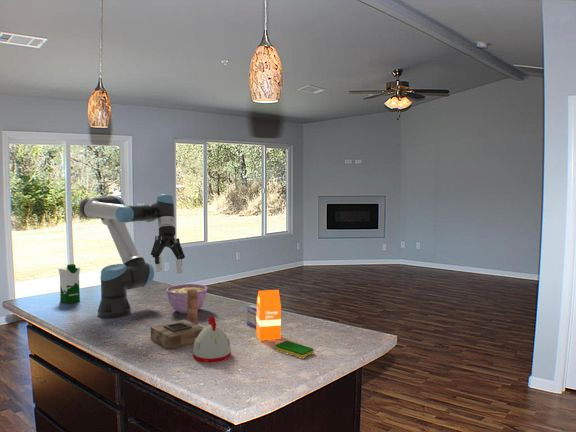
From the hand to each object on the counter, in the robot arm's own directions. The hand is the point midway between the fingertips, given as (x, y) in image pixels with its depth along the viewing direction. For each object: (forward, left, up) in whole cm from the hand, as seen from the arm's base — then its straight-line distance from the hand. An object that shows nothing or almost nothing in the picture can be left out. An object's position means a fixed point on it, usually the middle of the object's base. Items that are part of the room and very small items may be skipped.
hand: (169, 272), depth 215 cm
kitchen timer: (+47, -8, -23) cm, 53 cm away
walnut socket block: (+23, -9, -23) cm, 34 cm away
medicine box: (+29, +27, -23) cm, 46 cm away
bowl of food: (-11, +15, -23) cm, 30 cm away
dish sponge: (+64, +18, -24) cm, 71 cm away
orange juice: (+45, +21, -23) cm, 55 cm away
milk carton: (-67, -23, -23) cm, 75 cm away
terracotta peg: (+11, +5, -23) cm, 26 cm away
